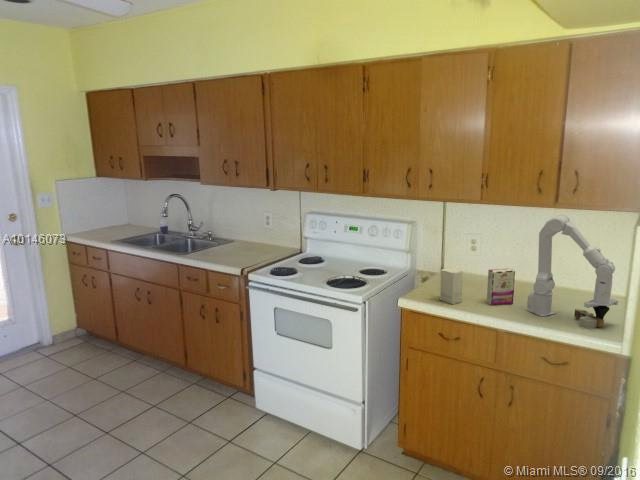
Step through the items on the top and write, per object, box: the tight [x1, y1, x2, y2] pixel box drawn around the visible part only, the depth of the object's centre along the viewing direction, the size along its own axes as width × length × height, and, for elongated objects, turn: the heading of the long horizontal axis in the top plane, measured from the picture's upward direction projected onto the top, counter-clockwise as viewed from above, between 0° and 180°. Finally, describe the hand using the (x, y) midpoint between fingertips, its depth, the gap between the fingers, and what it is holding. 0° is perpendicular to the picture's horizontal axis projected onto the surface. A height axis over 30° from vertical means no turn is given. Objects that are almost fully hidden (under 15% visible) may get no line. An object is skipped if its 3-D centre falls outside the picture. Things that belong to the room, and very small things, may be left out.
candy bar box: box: [486, 267, 516, 306], centre depth 217 cm, size 11×5×16 cm, turn 99°
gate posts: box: [577, 312, 595, 322], centre depth 197 cm, size 4×6×3 cm
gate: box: [573, 308, 605, 328], centre depth 194 cm, size 12×3×4 cm, turn 21°
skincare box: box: [439, 267, 463, 305], centre depth 220 cm, size 8×7×16 cm
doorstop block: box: [578, 316, 598, 330], centre depth 191 cm, size 4×4×4 cm
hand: (598, 322), depth 191 cm, fingers closed, pressing on gate
